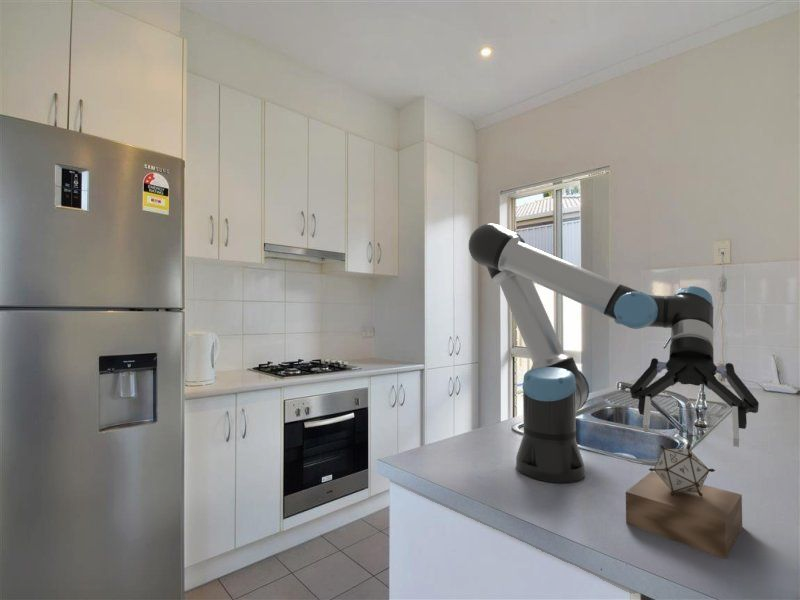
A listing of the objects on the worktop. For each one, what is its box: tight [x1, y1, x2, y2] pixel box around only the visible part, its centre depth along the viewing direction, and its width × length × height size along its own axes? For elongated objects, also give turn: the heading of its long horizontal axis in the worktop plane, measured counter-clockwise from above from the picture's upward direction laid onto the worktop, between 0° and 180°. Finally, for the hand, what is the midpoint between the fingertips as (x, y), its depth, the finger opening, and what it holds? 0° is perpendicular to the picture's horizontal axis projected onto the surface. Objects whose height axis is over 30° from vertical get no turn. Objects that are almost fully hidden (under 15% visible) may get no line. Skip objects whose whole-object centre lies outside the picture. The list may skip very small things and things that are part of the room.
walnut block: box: [625, 471, 743, 560], centre depth 72 cm, size 14×14×6 cm
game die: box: [648, 444, 716, 497], centre depth 72 cm, size 9×8×10 cm
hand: (688, 435), depth 75 cm, fingers open, 13 cm apart
